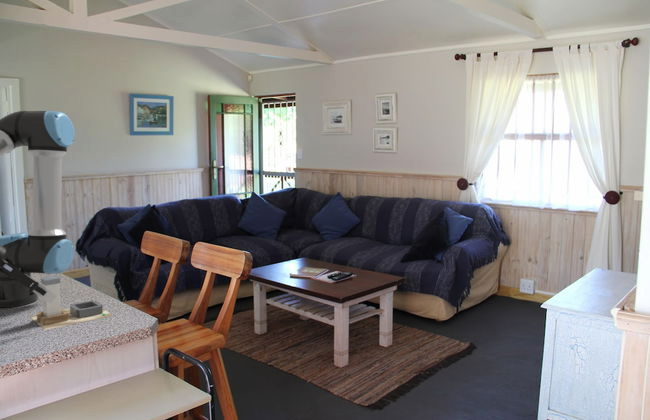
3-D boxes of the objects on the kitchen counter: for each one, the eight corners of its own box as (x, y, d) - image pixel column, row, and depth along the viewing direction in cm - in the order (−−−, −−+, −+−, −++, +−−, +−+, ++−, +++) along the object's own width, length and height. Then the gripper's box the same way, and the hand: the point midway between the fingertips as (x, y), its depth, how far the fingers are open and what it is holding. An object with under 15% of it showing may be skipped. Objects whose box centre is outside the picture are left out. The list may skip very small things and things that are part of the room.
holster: (36, 319, 172) (35, 312, 171) (61, 314, 177) (61, 308, 176) (43, 325, 166) (43, 319, 166) (69, 320, 171) (69, 313, 171)
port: (69, 312, 178) (68, 304, 178) (94, 307, 184) (94, 299, 183) (80, 320, 171) (79, 312, 171) (106, 314, 176) (106, 307, 176)
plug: (43, 319, 172) (40, 277, 170) (57, 316, 174) (55, 275, 173) (47, 323, 168) (45, 280, 167) (62, 320, 171) (60, 278, 169)
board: (29, 320, 174) (29, 316, 174) (95, 307, 188) (94, 303, 188) (45, 334, 163) (45, 330, 163) (114, 319, 176) (113, 315, 176)
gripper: (-35, 254, 164) (25, 295, 176) (-16, 270, 146) (49, 315, 158) (-15, 234, 167) (42, 276, 179) (6, 248, 149) (68, 293, 161)
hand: (46, 294), depth 169 cm, fingers open, 13 cm apart
